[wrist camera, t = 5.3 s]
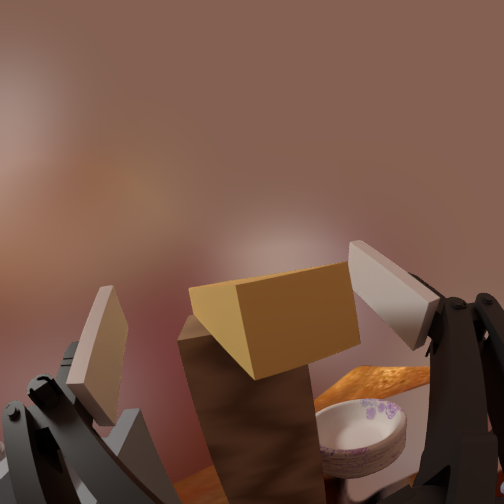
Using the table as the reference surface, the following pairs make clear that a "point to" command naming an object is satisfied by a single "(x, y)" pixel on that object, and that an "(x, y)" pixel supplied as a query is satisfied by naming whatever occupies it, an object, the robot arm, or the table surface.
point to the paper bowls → (360, 437)
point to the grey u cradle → (128, 451)
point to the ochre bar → (281, 317)
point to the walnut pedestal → (254, 424)
